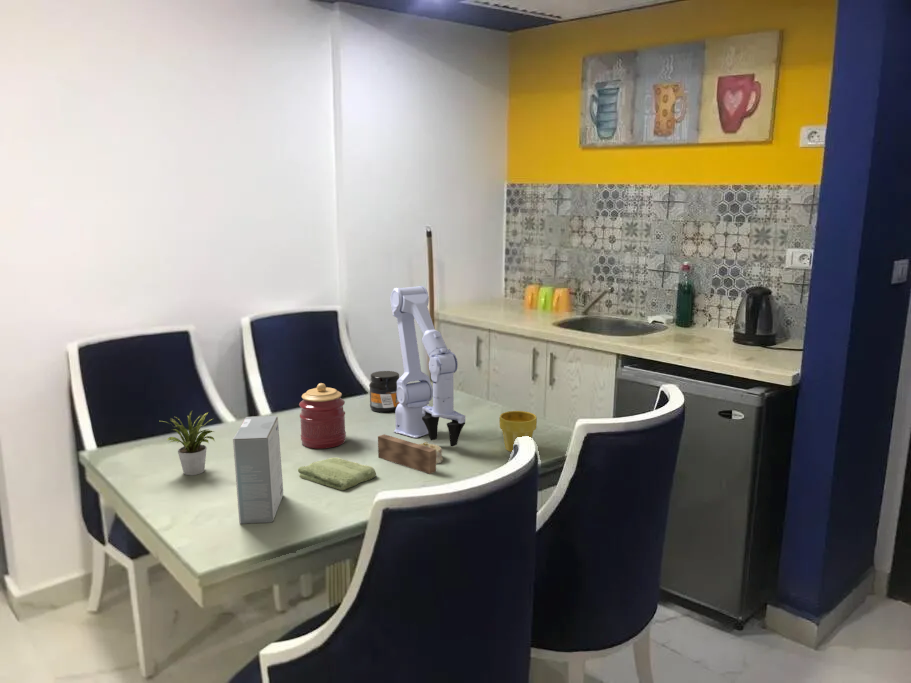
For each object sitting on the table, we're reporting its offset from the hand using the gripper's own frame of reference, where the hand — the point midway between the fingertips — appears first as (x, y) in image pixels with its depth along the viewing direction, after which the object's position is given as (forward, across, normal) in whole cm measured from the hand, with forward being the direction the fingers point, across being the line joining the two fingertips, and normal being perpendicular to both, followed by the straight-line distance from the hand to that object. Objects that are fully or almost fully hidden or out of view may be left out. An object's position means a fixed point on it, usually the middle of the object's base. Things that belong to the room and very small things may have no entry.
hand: (443, 442), depth 207 cm
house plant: (+2, -38, -56) cm, 68 cm away
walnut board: (+2, 0, -15) cm, 15 cm away
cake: (+2, +2, -9) cm, 9 cm away
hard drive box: (+2, -5, -57) cm, 57 cm away
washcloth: (+3, -7, -33) cm, 34 cm away
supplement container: (+2, -41, +17) cm, 44 cm away
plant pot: (+2, +16, +14) cm, 21 cm away
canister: (+2, -31, -18) cm, 36 cm away
